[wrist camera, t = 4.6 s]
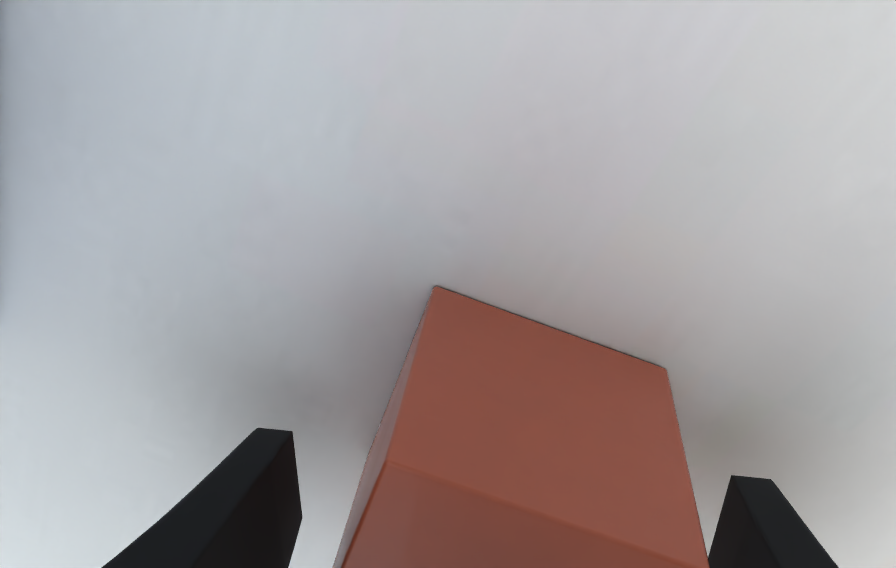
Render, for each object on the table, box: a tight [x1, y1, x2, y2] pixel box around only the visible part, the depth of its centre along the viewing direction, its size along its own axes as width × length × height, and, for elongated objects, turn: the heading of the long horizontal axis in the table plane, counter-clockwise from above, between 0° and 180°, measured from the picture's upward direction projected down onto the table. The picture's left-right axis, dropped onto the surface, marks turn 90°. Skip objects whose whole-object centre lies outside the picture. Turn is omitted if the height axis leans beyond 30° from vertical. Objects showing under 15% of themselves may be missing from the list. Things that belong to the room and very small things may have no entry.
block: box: [333, 287, 710, 568], centre depth 12 cm, size 4×4×4 cm
